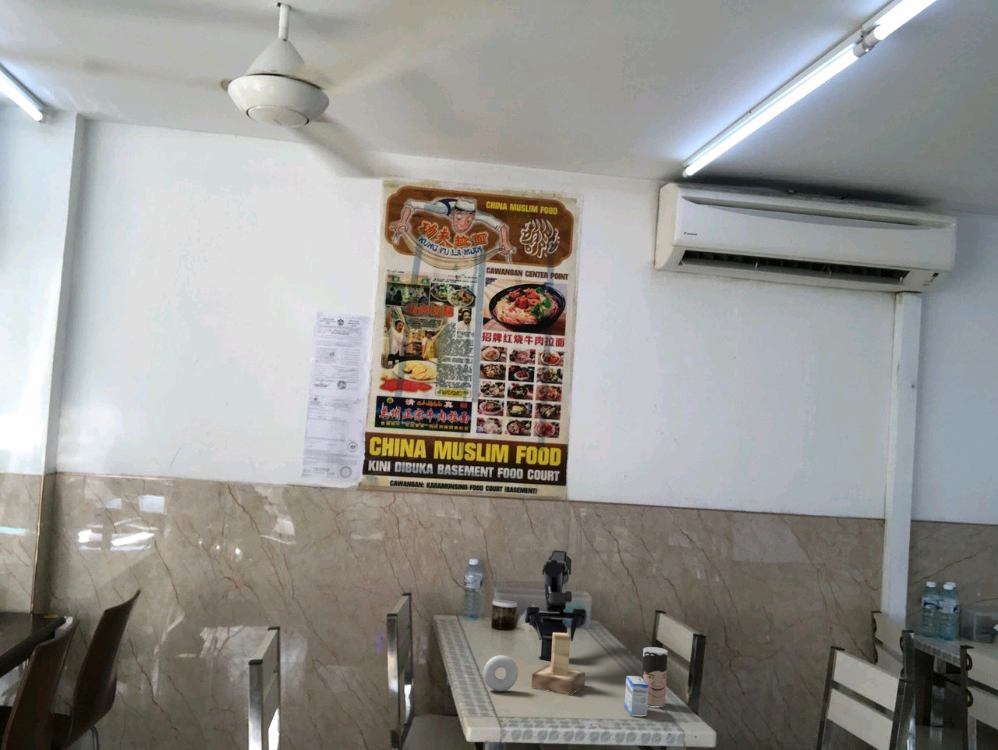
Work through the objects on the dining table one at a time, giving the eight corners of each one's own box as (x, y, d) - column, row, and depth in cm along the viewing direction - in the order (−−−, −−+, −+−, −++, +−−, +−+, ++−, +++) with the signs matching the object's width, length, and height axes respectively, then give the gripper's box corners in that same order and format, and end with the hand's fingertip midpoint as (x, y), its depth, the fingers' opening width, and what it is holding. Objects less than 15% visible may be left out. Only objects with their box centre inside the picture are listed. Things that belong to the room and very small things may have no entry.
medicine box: (624, 707, 238) (625, 675, 239) (639, 708, 238) (641, 676, 239) (630, 716, 230) (632, 683, 231) (647, 717, 230) (649, 684, 231)
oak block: (550, 670, 256) (552, 632, 257) (565, 671, 256) (567, 633, 257) (552, 674, 251) (555, 636, 252) (567, 675, 252) (570, 636, 252)
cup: (638, 705, 240) (641, 650, 241) (642, 699, 247) (645, 645, 248) (663, 709, 238) (666, 654, 239) (666, 703, 244) (668, 649, 246)
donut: (516, 690, 247) (518, 654, 248) (517, 693, 244) (520, 657, 245) (481, 688, 246) (483, 653, 247) (482, 692, 243) (484, 656, 244)
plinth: (531, 687, 251) (532, 673, 251) (547, 678, 261) (547, 664, 262) (570, 695, 246) (571, 681, 246) (584, 685, 256) (585, 671, 257)
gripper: (527, 579, 269) (529, 624, 257) (587, 582, 270) (591, 626, 258) (523, 600, 276) (525, 644, 264) (581, 602, 277) (585, 646, 266)
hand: (557, 639), depth 263 cm, fingers open, 9 cm apart
